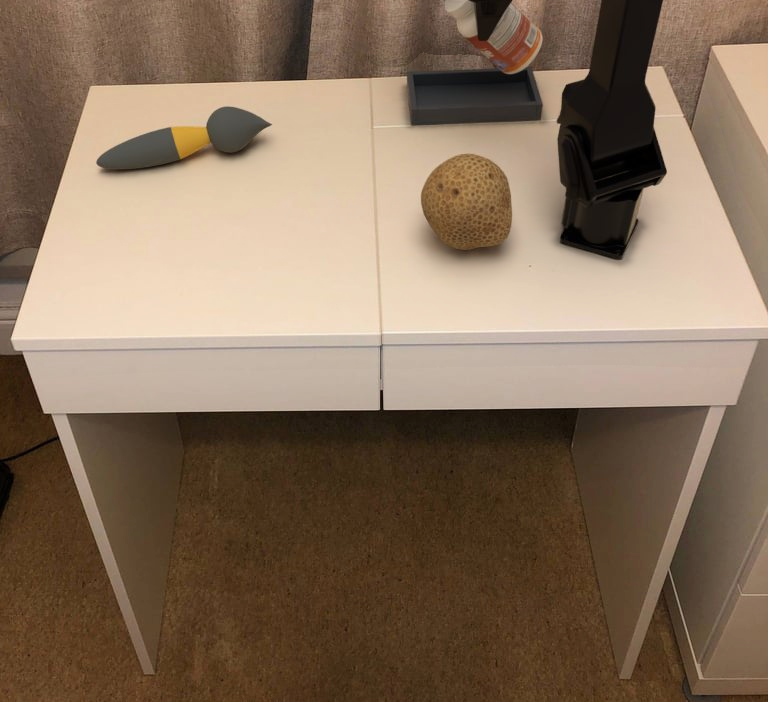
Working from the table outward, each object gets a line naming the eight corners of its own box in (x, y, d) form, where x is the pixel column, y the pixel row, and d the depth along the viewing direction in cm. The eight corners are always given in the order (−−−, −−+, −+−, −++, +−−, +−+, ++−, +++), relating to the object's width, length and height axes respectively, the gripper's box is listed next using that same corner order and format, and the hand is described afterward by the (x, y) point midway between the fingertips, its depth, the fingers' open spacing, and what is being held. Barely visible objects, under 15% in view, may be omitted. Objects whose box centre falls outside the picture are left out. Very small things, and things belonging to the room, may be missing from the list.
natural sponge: (423, 211, 92) (424, 130, 85) (507, 215, 91) (517, 133, 84) (417, 269, 86) (418, 187, 79) (507, 273, 85) (517, 191, 78)
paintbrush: (104, 191, 95) (92, 153, 92) (97, 166, 98) (85, 128, 95) (277, 150, 100) (272, 112, 96) (265, 128, 103) (260, 90, 99)
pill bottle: (497, 61, 105) (434, 3, 99) (535, 22, 102) (473, -40, 96) (510, 85, 100) (445, 26, 94) (551, 45, 98) (487, -19, 92)
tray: (529, 82, 109) (531, 66, 107) (540, 120, 103) (542, 104, 101) (406, 87, 108) (406, 71, 107) (411, 125, 103) (411, 109, 101)
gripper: (394, -150, 93) (396, -6, 104) (420, -81, 80) (418, 74, 91) (497, -156, 93) (487, -13, 105) (539, -89, 81) (522, 66, 92)
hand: (477, 26), depth 98 cm, fingers closed on pill bottle, 6 cm apart
